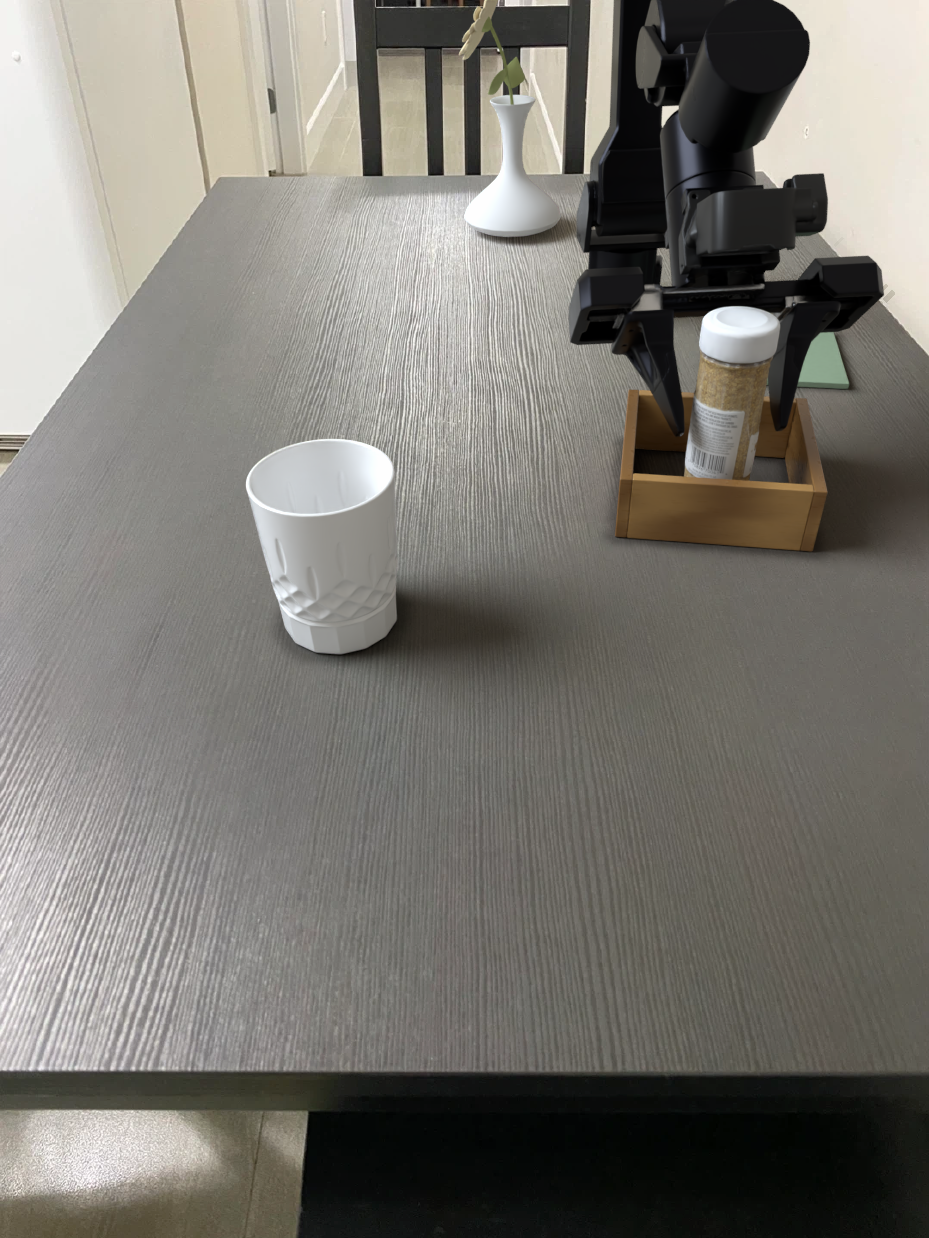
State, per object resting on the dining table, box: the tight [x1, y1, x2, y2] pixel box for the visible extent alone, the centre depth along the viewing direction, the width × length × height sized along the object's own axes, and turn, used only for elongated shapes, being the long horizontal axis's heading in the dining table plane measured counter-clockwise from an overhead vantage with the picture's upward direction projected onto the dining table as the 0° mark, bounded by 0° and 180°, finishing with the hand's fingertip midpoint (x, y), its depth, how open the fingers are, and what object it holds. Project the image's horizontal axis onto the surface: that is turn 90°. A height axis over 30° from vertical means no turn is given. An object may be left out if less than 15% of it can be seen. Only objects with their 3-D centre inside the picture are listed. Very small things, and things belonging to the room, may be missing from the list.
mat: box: [766, 332, 850, 390], centre depth 82 cm, size 11×11×1 cm
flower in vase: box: [458, 0, 562, 238], centre depth 102 cm, size 13×11×25 cm
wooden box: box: [614, 389, 829, 552], centre depth 64 cm, size 13×13×4 cm
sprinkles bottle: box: [683, 306, 780, 481], centre depth 60 cm, size 5×5×14 cm
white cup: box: [245, 438, 399, 655], centre depth 53 cm, size 8×8×10 cm
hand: (730, 432), depth 59 cm, fingers open, 6 cm apart
